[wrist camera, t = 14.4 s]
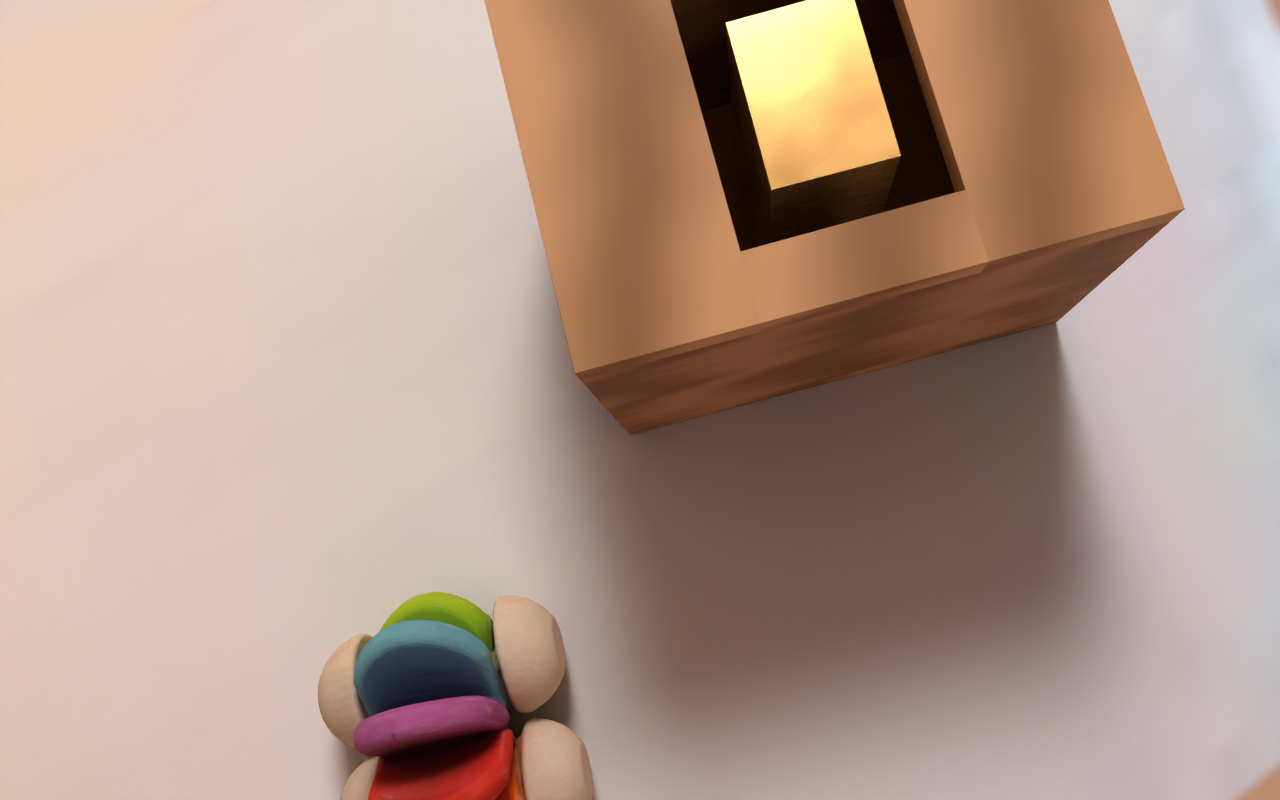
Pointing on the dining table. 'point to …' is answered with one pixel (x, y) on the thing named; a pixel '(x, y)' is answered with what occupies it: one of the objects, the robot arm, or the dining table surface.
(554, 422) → the dining table surface
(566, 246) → the wooden box with opening
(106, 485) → the dining table surface
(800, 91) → the tan rectangular block
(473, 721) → the multicolored rounded segment toy
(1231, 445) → the dining table surface
